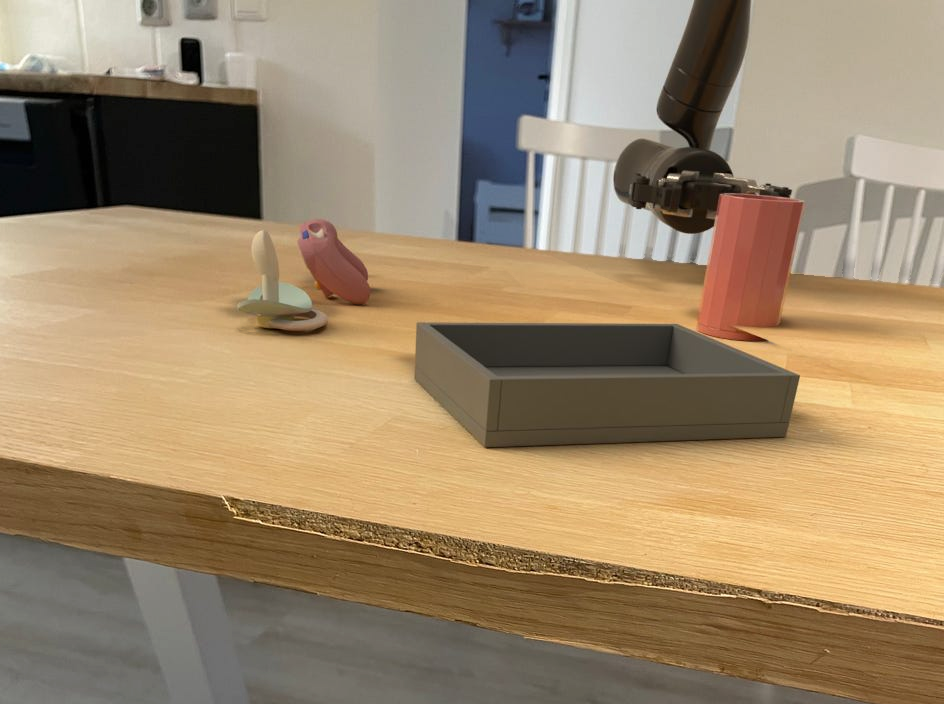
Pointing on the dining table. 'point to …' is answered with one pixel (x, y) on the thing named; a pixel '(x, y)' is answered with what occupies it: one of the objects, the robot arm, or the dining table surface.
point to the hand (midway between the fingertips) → (724, 202)
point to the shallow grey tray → (599, 383)
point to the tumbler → (749, 264)
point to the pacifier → (277, 294)
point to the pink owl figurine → (332, 262)
